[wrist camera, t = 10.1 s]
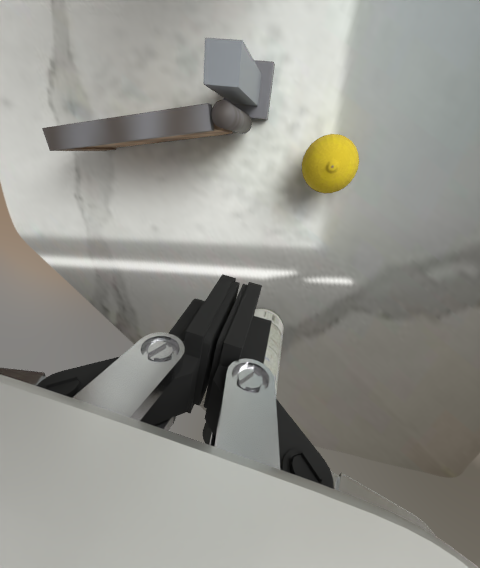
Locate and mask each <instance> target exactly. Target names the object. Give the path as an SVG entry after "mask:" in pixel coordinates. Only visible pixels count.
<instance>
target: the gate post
mask: <svg viewBox="0 0 480 568" xmlns="http://www.w3.org/2000/svg"><path fill="white" fill-rule="evenodd" d="M274 66H275V64H274V62H268V61H255V60H253V58H252V56H251V55H250V53H249V51H248V49H247V48H246V46H245V44H244V42H243V40H232V39H216V38H205V60H204V85H206V86H207V87H209V88H210V89H212V90H213V91H215V92H216V93H218V94H219V95H221V96H222V97H224V100H225V101H228V102H229V103H231V104H232V105H234V106H235V107H237V108H239V109H240V110H242V111H243V112H245V113H246V114H248V115H249V116H250V118H256V119H266V120H268V112H269V105H270V97H271V89H272V82H273V74H274Z"/></svg>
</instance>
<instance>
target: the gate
mask: <svg viewBox="0 0 480 568" xmlns="http://www.w3.org/2000/svg"><path fill="white" fill-rule="evenodd" d="M251 125H252V121H251V118H250V116H249V115H248V114H246V113H245V112H243V111H242V110H240V109H239V108H237V107H235V106H234V105H232V104H231V103H229V102H228V101H225V100H221V101H218V102H217V103H216V104H215V105H214V106H213V108H212V105H210V104H208V103H207V104H200V105H194V106H187V107H180V108H174V109H167V110H160V111H154V112H147V113H140V114H134V115H127V116H120V117H114V118H107V119H101V120H94V121H87V122H81V123H74V124H67V125H61V126H54V127H47V128H42V129H43V132H44V135H45V138H46V140H47V143H48V146H49V149H50V151H107V150H116V148H117V147H126V146H134V145H142V144H150V143H159V142H167V141H175V140H184V139H192V138H200V137H208V136H217V135H225V134H233V133H232V131H234V132H238V133H242V134H244V133H247V132H248V131H249V130H250V128H251Z"/></svg>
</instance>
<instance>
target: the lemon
mask: <svg viewBox="0 0 480 568" xmlns="http://www.w3.org/2000/svg"><path fill="white" fill-rule="evenodd" d="M358 164H359V156H358V152H357V149H356V147H355V145H354V144H353V143H352V141H350V140H349V139H348V138H346V137H344V136H342V135H337V134H330V135H326V136H323V137H321V138H319V139H317V140H316V141H315V142H313V143H312V144H311V145H310V147H309V148H308V149H307V151H306V153H305V155H304V157H303V162H302V173H303V177H304V179H305V181H306V183H307V184H308V185H309V186H310V187H311V188H312V189H314V190H316V191H318V192H321V193H333V192H336V191H339V190H341V189H343V188H344V187H346V186H347V185H348V184H349V183H350V182H351V180H352V179H353V178H354V176H355V174H356V172H357V169H358Z"/></svg>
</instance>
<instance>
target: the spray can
mask: <svg viewBox="0 0 480 568" xmlns="http://www.w3.org/2000/svg"><path fill="white" fill-rule="evenodd" d="M254 316H257V317H260V318H264V319H267V320H271V321H272V323H271V328H270V334H269V339H268V344H267V349H266V354H265V360H264V365H266V366H267V367H268V368H269V369H270V371H271V372H272V374H273V376H274V380H275V391H276V392H277V383H278V374H279V365H280V356H281V347H282V338H283V324H282V321H281V320H280V318H279V317H278V315H277V314H275V313H274V312H273V311H271V310H267V309H255V313H254ZM211 434H212V431H211V429H210V427H209V425H208V423H207V421H206V423H205V426H204V429H203V439H204V441H205V443H206V444H208V445H210V439H211Z"/></svg>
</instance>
